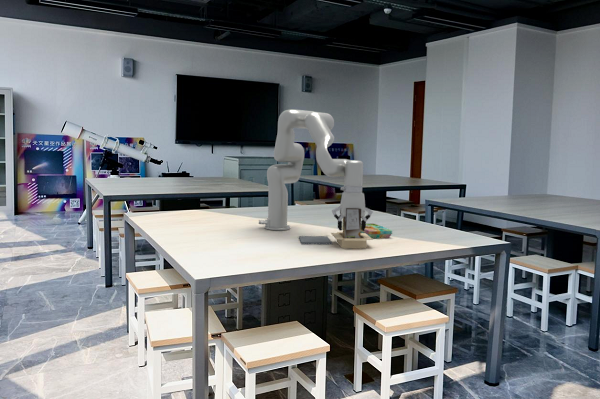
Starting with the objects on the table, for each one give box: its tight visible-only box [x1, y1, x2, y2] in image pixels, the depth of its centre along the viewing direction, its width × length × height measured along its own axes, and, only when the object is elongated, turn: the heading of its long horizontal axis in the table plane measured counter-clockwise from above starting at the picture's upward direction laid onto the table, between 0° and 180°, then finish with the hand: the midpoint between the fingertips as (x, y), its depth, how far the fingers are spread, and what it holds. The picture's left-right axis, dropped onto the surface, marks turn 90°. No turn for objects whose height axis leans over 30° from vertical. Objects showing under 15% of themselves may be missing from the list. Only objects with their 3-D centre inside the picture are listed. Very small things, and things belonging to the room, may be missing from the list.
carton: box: [330, 231, 374, 249], centre depth 211 cm, size 15×18×4 cm
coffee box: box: [342, 208, 362, 238], centre depth 211 cm, size 9×6×16 cm
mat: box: [298, 235, 333, 245], centre depth 217 cm, size 13×13×1 cm
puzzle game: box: [361, 222, 393, 239], centre depth 237 cm, size 12×5×20 cm
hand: (351, 230), depth 211 cm, fingers open, 9 cm apart
